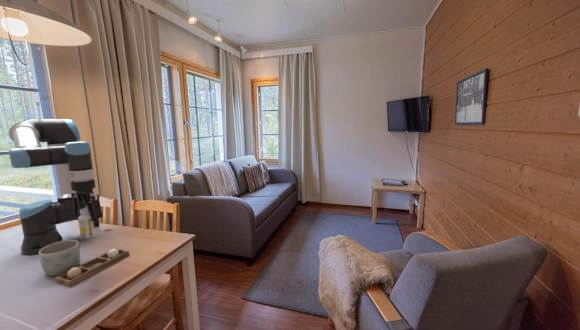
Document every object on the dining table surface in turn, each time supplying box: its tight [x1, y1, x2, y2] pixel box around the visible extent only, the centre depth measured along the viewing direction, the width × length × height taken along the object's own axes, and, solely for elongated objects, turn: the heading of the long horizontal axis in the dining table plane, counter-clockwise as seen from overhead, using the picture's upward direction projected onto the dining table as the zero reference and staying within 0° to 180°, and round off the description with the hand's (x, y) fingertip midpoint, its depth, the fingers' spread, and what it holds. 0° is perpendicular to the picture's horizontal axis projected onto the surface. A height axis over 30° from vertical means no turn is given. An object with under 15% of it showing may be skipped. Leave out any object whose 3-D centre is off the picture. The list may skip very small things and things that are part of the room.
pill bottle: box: [77, 208, 99, 239], centre depth 103 cm, size 6×6×12 cm
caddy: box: [54, 247, 130, 288], centre depth 106 cm, size 9×24×2 cm, turn 161°
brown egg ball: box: [67, 267, 82, 279], centre depth 99 cm, size 4×4×4 cm
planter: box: [38, 239, 81, 277], centre depth 104 cm, size 12×12×11 cm
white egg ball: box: [106, 248, 119, 259], centre depth 113 cm, size 4×4×4 cm
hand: (90, 232), depth 103 cm, fingers closed on pill bottle, 6 cm apart
